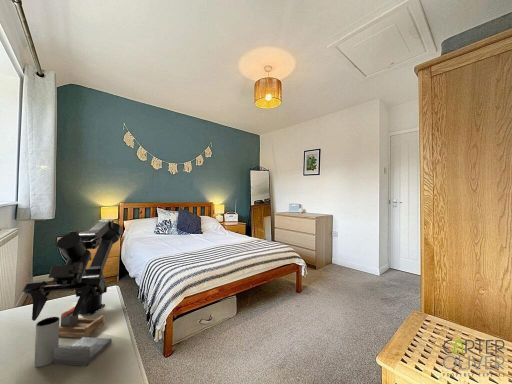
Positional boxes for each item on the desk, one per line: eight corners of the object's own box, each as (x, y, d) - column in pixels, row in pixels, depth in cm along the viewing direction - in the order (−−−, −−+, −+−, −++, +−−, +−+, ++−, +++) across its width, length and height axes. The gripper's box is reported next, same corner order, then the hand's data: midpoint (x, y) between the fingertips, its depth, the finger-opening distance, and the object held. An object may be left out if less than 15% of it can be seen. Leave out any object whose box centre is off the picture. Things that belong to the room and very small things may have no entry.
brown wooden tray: (70, 323, 75) (70, 313, 75) (103, 324, 74) (104, 315, 74) (50, 336, 68) (50, 325, 68) (86, 337, 67) (87, 327, 67)
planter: (43, 368, 55) (44, 327, 55) (29, 365, 56) (31, 324, 56) (62, 355, 59) (63, 317, 60) (49, 353, 60) (50, 315, 61)
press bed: (82, 341, 66) (83, 327, 66) (111, 342, 65) (112, 328, 65) (53, 363, 57) (54, 347, 57) (86, 365, 56) (87, 349, 56)
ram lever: (72, 320, 74) (72, 305, 74) (80, 321, 73) (81, 305, 74) (57, 329, 69) (58, 313, 69) (66, 330, 68) (67, 313, 69)
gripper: (28, 254, 64) (-7, 311, 53) (102, 251, 69) (84, 302, 58) (44, 272, 71) (17, 326, 60) (110, 268, 76) (96, 317, 65)
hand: (54, 317), depth 60 cm, fingers open, 9 cm apart
